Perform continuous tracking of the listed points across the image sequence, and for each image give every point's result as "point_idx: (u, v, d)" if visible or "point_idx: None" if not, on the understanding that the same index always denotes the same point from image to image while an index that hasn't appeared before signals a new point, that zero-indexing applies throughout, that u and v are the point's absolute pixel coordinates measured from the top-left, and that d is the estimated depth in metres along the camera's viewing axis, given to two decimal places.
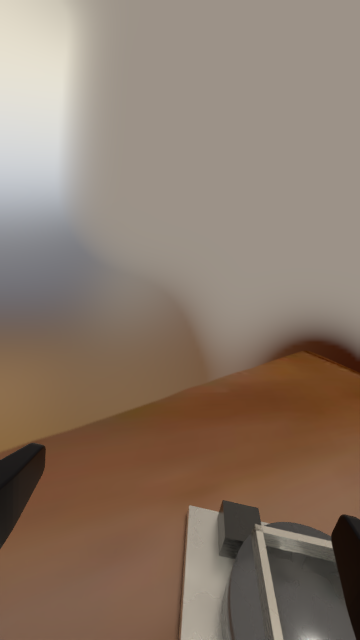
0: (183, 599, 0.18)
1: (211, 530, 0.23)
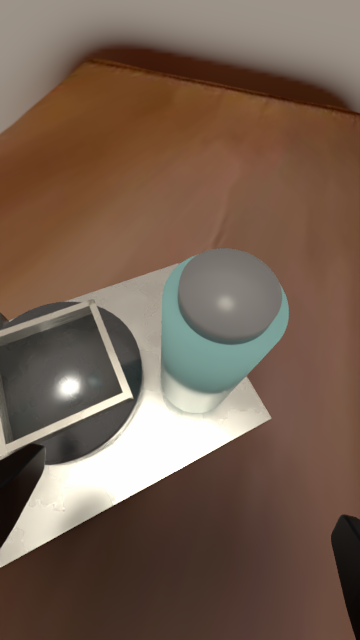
0: None
1: None
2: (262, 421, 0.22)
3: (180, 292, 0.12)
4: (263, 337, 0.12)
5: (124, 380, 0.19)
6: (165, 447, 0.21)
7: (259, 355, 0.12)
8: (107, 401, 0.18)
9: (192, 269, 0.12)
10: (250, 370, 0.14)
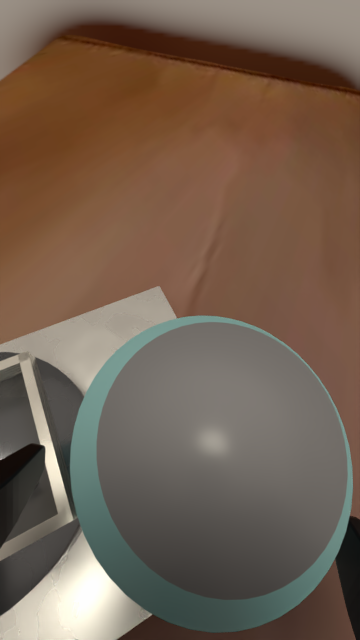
0: None
1: None
2: None
3: (99, 453, 0.05)
4: None
5: (62, 491, 0.12)
6: None
7: (294, 602, 0.05)
8: (31, 532, 0.11)
9: (134, 382, 0.05)
10: None
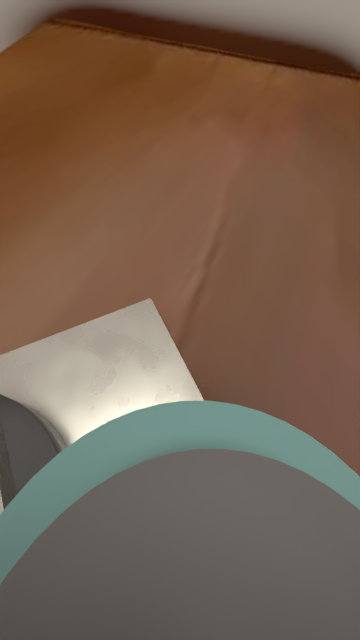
0: None
1: None
2: None
3: None
4: None
5: None
6: None
7: None
8: None
9: (21, 630, 0.02)
10: None
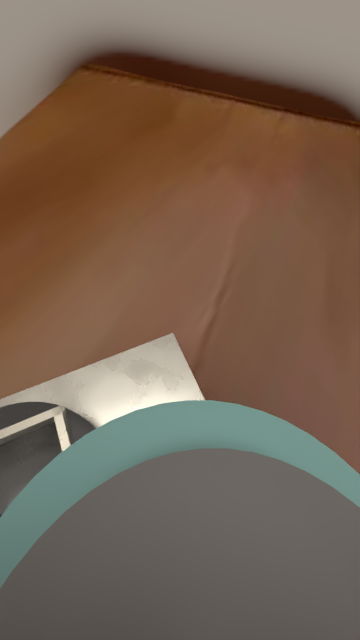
0: None
1: None
2: None
3: None
4: None
5: None
6: None
7: None
8: None
9: (24, 629, 0.02)
10: None
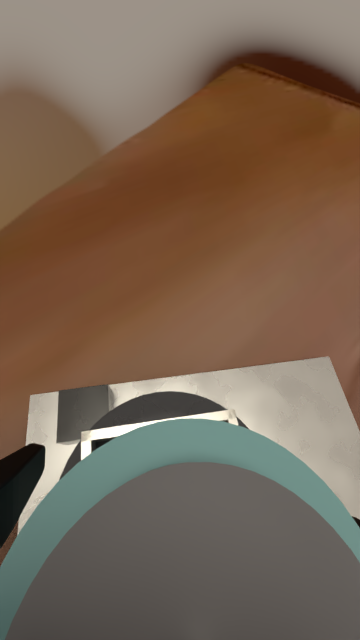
0: None
1: None
2: None
3: None
4: None
5: None
6: None
7: None
8: None
9: (59, 598, 0.03)
10: None
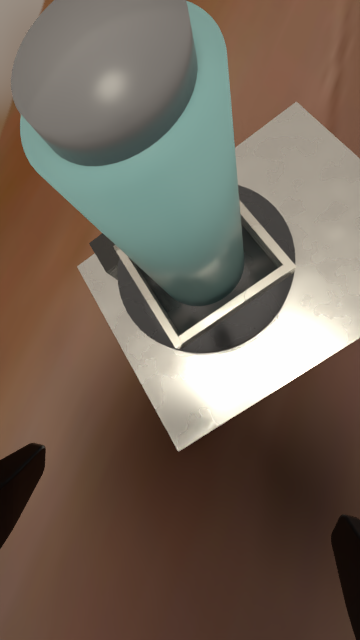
0: (111, 328, 0.22)
1: (103, 268, 0.23)
2: None
3: (20, 110, 0.06)
4: (194, 103, 0.06)
5: (280, 251, 0.16)
6: (334, 320, 0.18)
7: (199, 136, 0.06)
8: (267, 277, 0.16)
9: (24, 63, 0.07)
10: (225, 192, 0.09)
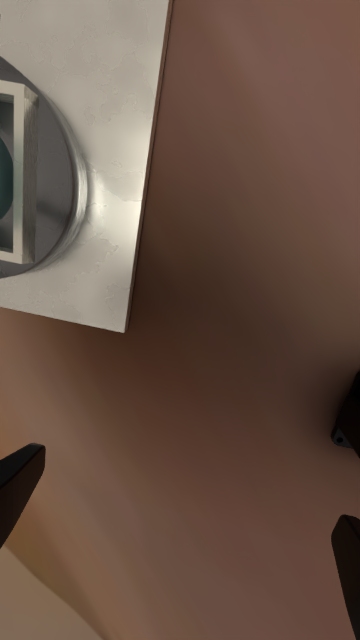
0: None
1: None
2: None
3: None
4: None
5: None
6: (124, 110, 0.16)
7: None
8: (16, 122, 0.13)
9: None
10: None
